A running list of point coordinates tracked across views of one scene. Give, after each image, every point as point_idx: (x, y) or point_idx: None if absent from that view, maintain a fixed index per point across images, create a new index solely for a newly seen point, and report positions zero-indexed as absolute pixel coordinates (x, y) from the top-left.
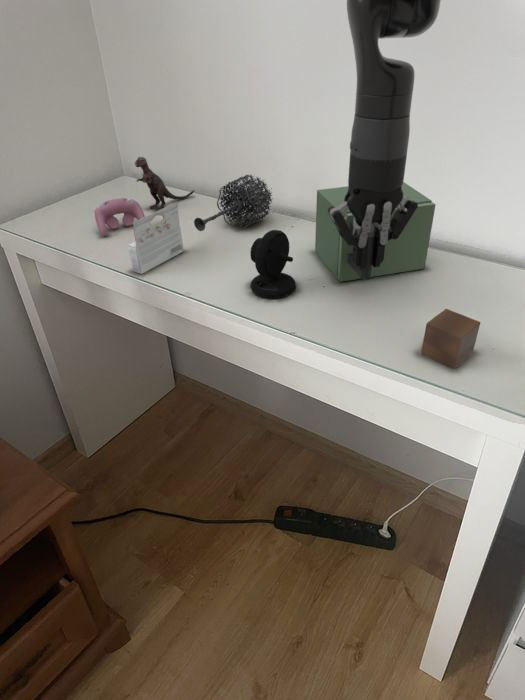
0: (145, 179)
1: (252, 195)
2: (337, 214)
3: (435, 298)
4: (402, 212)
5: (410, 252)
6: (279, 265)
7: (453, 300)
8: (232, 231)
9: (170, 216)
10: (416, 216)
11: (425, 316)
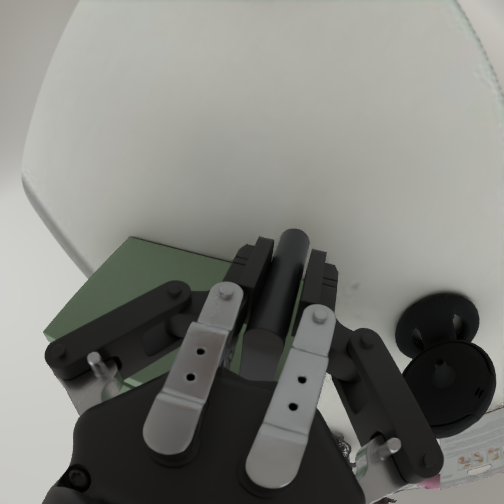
0: (387, 501)
1: None
2: (430, 468)
3: (154, 132)
4: (110, 358)
5: (139, 271)
6: (447, 359)
7: (127, 111)
8: (353, 436)
9: (455, 472)
10: None
11: (213, 71)
